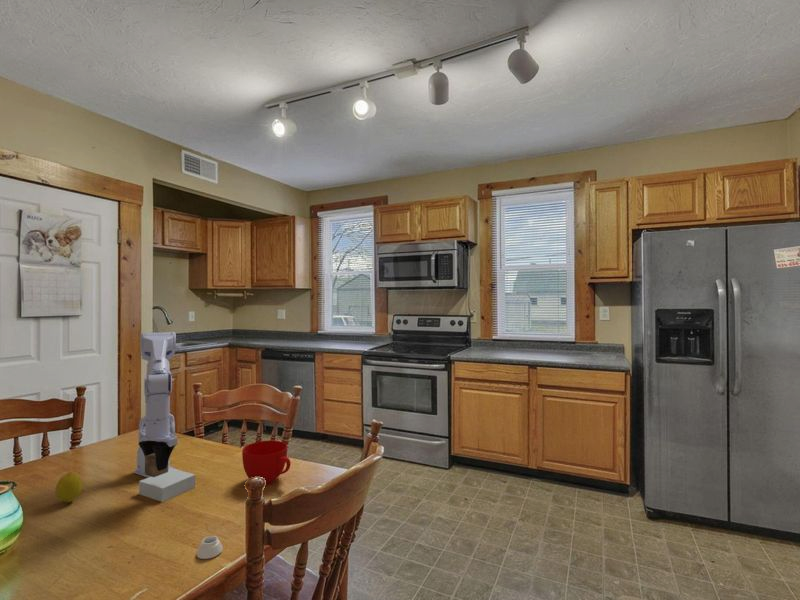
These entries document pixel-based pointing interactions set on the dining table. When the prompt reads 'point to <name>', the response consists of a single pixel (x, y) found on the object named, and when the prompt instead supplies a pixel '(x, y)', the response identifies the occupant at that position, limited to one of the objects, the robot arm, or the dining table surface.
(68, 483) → the lemon
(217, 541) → the white tapered collar
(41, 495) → the dining table surface
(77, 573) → the dining table surface
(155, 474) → the walnut block
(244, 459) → the ceramic cup
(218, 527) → the dining table surface
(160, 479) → the base block
